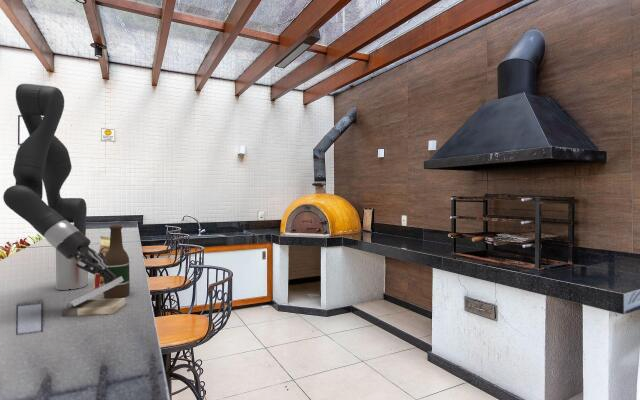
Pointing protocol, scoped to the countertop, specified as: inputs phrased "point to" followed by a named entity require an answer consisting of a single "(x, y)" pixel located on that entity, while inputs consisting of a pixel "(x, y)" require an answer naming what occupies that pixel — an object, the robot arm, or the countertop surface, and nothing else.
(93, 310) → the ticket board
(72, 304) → the slab
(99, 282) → the milk carton
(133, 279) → the countertop surface
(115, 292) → the beer bottle
